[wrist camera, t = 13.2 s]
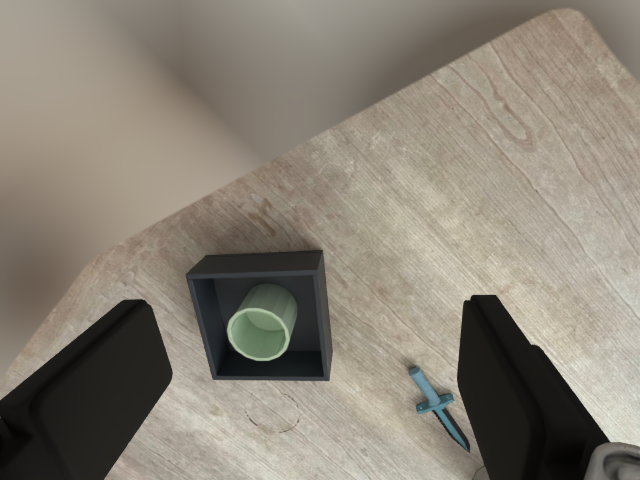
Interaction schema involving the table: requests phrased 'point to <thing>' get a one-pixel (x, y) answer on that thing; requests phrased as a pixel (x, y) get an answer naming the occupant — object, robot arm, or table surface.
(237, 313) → the green tumbler
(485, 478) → the cup
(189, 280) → the dish tub
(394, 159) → the table surface
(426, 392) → the knife
